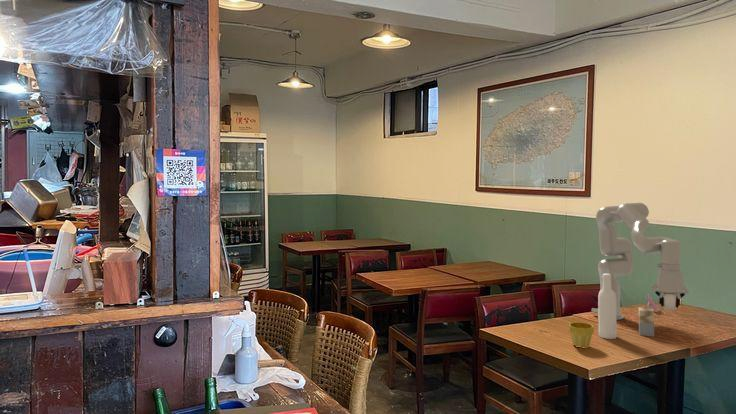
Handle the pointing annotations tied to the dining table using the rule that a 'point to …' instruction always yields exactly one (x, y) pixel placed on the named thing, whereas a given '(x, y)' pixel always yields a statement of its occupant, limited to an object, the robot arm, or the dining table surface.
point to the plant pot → (581, 333)
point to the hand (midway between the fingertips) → (669, 305)
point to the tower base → (646, 329)
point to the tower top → (646, 315)
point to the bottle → (607, 310)
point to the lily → (651, 303)
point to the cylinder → (669, 301)
